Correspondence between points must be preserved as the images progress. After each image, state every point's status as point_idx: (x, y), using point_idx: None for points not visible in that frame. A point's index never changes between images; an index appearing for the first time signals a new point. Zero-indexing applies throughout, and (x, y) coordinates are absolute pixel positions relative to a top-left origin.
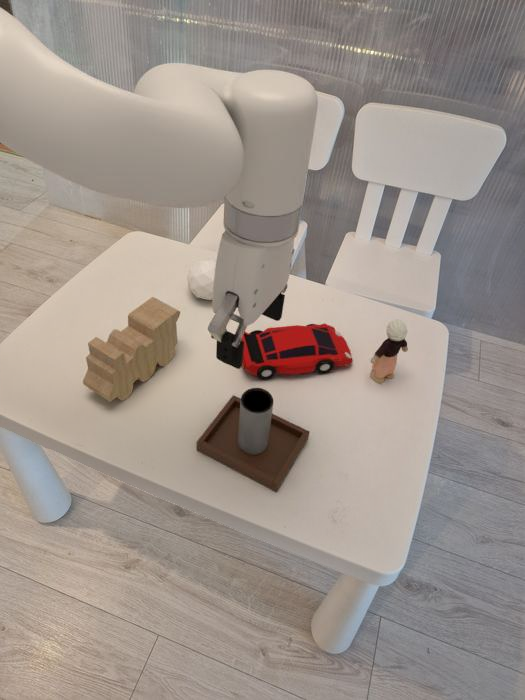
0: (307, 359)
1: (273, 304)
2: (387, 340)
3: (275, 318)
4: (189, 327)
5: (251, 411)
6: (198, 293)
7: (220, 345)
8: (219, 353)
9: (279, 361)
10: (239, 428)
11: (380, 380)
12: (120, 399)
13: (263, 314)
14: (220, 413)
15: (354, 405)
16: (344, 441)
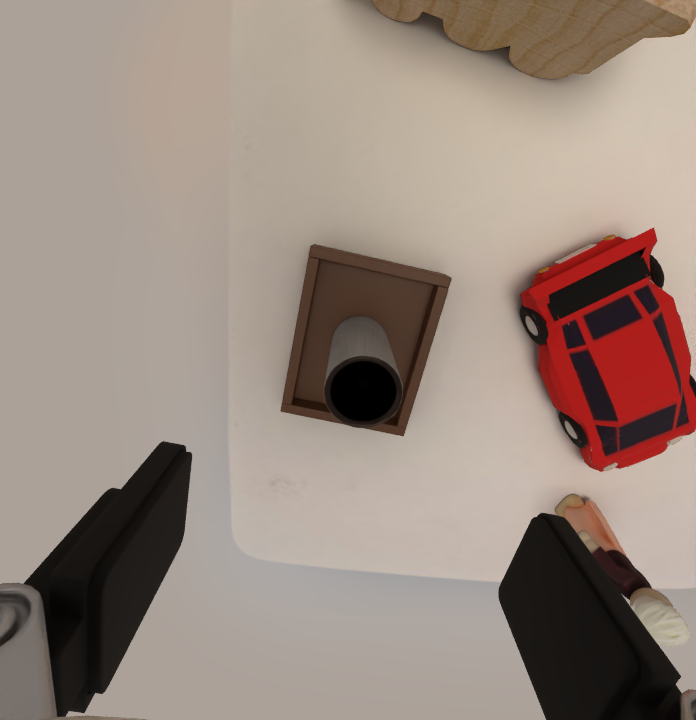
0: (578, 406)
1: (549, 658)
2: (633, 581)
3: (505, 592)
4: (672, 75)
5: (325, 391)
6: None
7: (37, 572)
8: (87, 512)
9: (561, 353)
10: (344, 333)
11: (560, 513)
12: (375, 3)
13: (525, 540)
14: (395, 268)
15: (494, 479)
16: (414, 476)
